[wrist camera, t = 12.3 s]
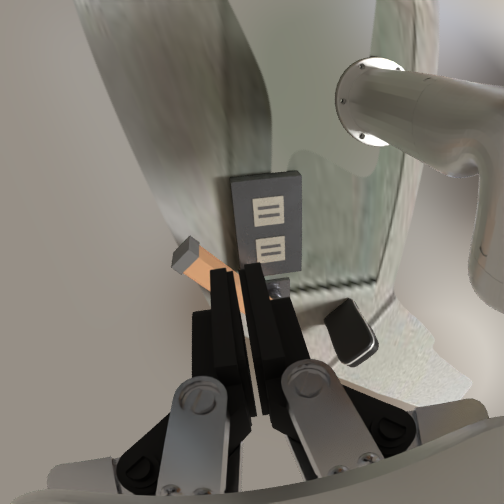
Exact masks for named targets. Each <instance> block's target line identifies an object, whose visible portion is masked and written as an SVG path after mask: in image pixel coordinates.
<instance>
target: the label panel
mask: <svg viewBox="0 0 504 504" xmlns="http://www.w3.org/2000/svg"><path fill="white" fill-rule="evenodd" d="M230 182H231V192H232V201H233V210H234V219H235V228H236V237H237V245H238V254H239V263H240V270H241V269H244V264H251V263H257V262H260V263H261V267H262V271H263V275H264V276H268V275H275V274H282V273H289V272H296V271H301V259H302V177H301V174H300V173H299V172H298V171H288V172H278V173H267V174H257V175H248V176H239V177H231V178H230Z"/></svg>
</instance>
